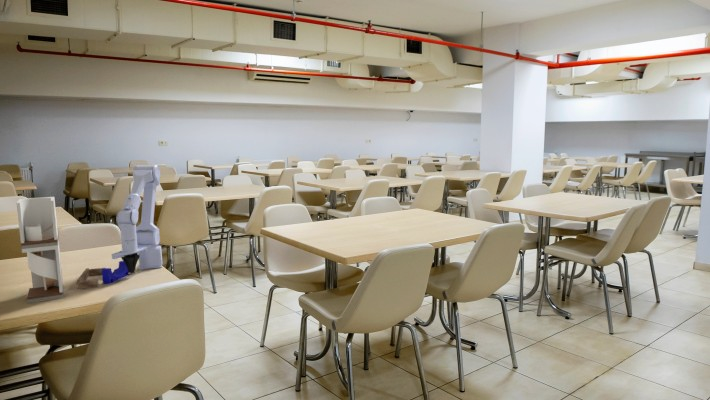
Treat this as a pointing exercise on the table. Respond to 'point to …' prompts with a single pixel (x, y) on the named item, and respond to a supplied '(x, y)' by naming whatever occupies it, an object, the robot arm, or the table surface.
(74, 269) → the table surface
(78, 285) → the frame
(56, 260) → the display case
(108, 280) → the cable clip
